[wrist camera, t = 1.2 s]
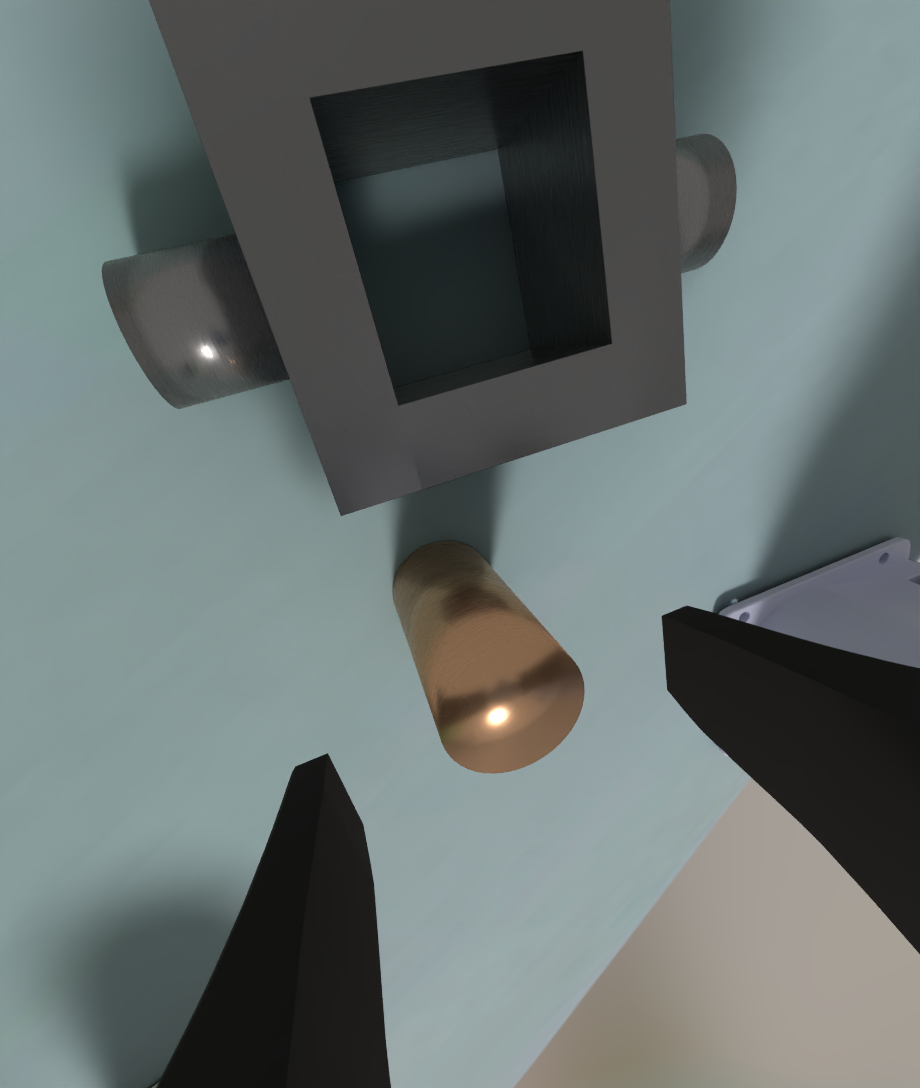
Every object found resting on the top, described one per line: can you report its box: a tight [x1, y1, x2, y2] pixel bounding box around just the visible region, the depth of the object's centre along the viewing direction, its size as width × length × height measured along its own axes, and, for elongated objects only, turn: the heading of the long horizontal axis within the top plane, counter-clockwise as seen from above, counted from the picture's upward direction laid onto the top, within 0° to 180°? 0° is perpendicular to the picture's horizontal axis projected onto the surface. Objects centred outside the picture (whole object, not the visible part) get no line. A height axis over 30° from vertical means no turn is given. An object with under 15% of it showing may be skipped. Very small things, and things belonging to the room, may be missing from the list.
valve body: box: [102, 0, 736, 516], centre depth 10 cm, size 13×8×4 cm, turn 104°
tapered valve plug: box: [393, 541, 584, 773], centre depth 12 cm, size 3×3×6 cm
